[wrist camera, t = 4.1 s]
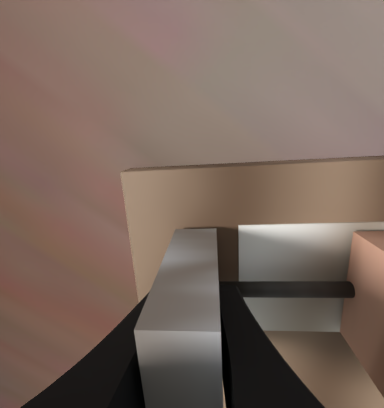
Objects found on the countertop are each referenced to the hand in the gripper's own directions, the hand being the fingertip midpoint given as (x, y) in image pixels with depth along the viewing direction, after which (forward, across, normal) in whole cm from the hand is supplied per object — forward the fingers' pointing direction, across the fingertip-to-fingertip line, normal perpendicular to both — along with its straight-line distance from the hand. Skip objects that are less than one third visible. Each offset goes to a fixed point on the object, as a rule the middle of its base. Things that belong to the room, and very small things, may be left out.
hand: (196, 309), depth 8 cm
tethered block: (+1, -5, 0) cm, 5 cm away
